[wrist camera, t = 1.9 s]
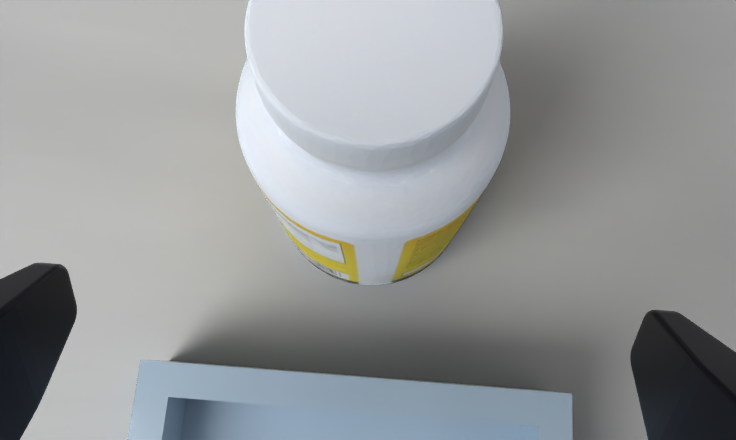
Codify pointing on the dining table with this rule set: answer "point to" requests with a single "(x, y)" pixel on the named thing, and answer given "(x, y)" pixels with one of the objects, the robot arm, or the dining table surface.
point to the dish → (333, 407)
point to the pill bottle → (373, 125)
